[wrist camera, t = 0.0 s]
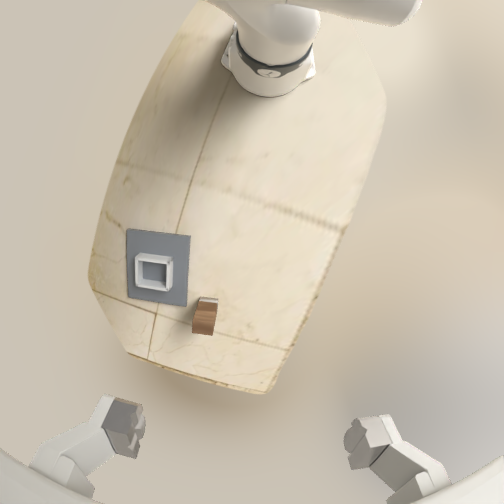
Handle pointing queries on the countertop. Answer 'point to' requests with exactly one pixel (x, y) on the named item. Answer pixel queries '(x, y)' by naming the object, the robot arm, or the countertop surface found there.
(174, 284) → the grey socket base
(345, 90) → the countertop surface
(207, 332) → the block
